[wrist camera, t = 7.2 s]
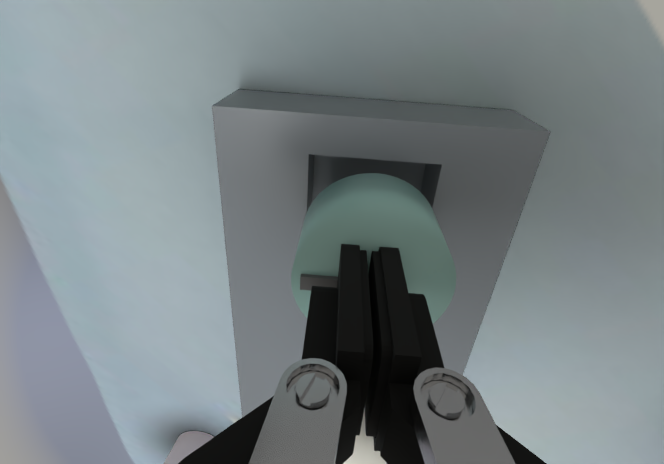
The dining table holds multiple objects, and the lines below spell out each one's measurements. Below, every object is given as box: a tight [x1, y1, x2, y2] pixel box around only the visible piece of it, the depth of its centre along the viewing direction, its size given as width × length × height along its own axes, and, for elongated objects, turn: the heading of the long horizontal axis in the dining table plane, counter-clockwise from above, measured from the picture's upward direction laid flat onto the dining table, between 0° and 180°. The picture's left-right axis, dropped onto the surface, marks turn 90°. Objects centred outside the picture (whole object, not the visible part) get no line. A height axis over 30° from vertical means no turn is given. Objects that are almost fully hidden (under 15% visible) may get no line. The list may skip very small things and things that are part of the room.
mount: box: [212, 89, 550, 464], centre depth 20 cm, size 12×22×4 cm, turn 176°
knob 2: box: [343, 408, 386, 464], centre depth 22 cm, size 5×5×6 cm
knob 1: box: [291, 173, 456, 323], centre depth 14 cm, size 5×5×6 cm
